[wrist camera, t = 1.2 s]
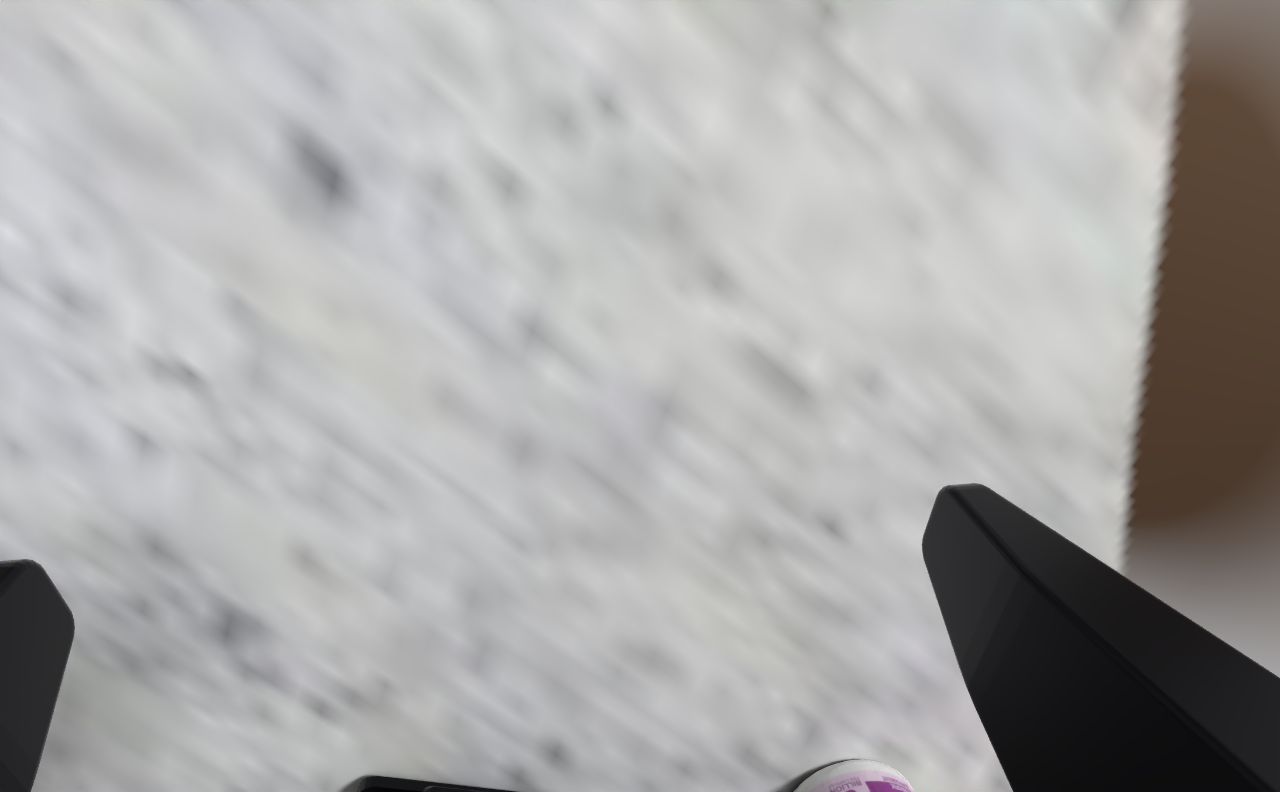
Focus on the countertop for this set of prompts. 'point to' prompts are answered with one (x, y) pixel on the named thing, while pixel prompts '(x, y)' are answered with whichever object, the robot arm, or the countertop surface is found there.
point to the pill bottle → (856, 778)
